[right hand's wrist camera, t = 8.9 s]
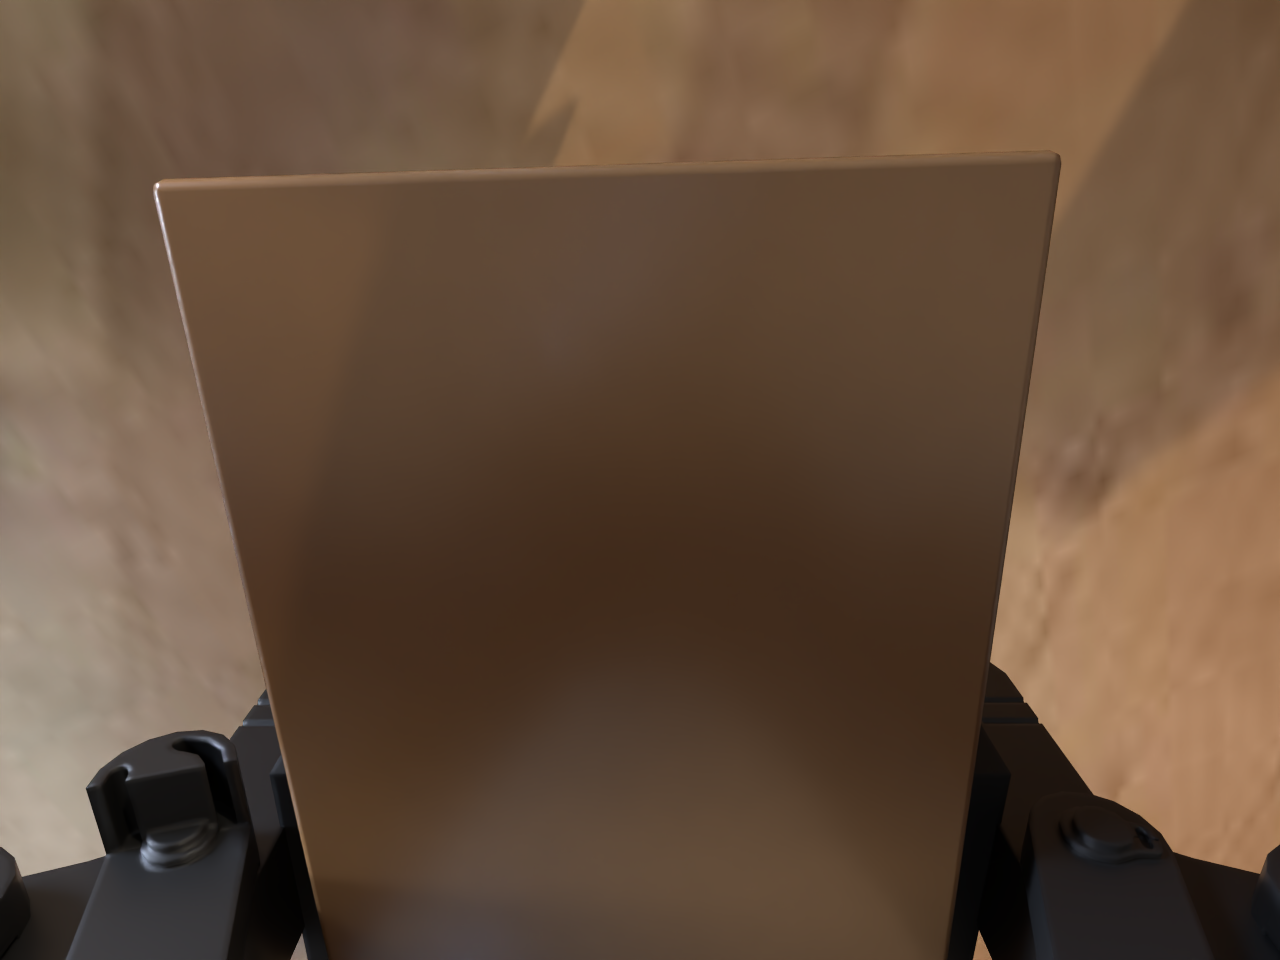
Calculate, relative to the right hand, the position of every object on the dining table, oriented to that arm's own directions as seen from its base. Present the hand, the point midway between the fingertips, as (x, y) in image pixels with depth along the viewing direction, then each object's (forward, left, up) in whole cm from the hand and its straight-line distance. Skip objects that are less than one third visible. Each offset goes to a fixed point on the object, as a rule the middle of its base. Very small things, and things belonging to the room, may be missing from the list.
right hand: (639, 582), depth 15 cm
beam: (+11, -19, 0) cm, 22 cm away
